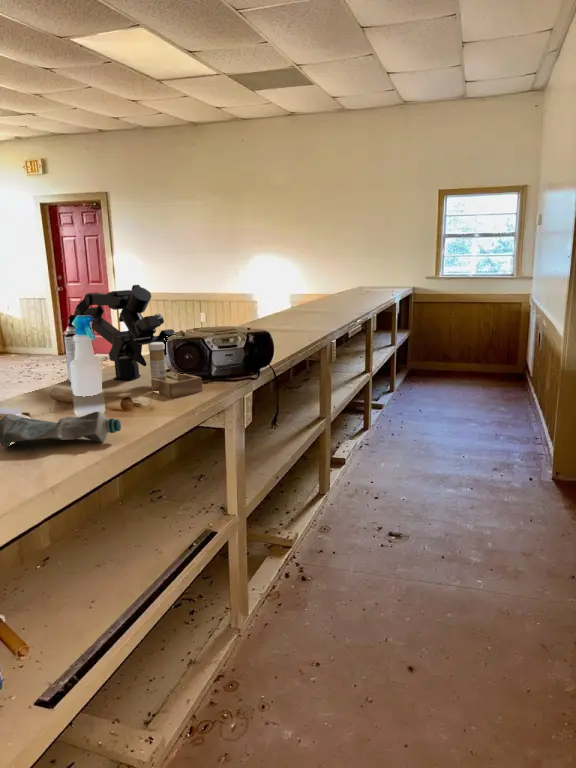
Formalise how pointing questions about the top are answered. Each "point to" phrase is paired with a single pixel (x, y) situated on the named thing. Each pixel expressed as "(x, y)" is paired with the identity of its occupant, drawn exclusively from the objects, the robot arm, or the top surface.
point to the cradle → (178, 386)
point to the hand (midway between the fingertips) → (158, 362)
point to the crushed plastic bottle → (57, 428)
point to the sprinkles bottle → (157, 360)
